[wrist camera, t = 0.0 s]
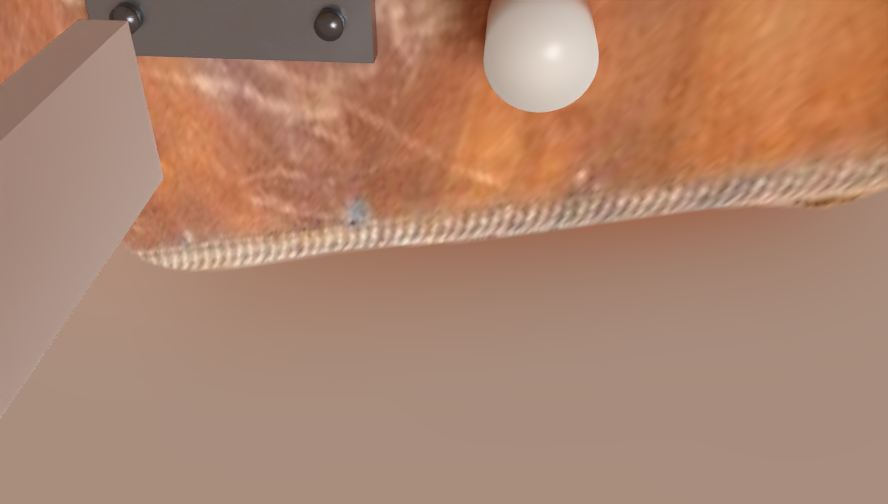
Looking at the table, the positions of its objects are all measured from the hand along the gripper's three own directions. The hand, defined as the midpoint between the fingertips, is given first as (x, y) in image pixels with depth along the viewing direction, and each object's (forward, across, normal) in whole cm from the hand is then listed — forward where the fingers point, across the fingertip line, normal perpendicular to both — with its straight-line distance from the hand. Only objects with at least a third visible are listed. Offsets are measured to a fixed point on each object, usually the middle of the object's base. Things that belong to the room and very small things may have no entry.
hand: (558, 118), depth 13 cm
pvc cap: (+28, +1, -9) cm, 29 cm away
